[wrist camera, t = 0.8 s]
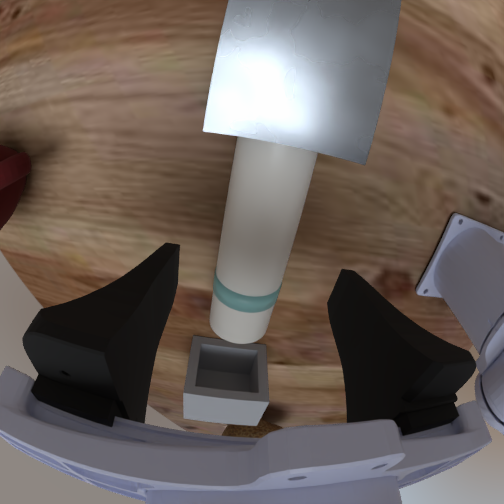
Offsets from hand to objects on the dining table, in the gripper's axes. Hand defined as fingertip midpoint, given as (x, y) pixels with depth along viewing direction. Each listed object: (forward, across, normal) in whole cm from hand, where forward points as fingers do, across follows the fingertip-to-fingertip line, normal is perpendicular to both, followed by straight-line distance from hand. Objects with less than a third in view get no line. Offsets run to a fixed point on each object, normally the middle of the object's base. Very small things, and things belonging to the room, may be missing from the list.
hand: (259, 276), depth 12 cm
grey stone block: (+7, 0, -11) cm, 13 cm away
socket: (+7, 0, +15) cm, 17 cm away
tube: (+6, 0, -4) cm, 8 cm away
